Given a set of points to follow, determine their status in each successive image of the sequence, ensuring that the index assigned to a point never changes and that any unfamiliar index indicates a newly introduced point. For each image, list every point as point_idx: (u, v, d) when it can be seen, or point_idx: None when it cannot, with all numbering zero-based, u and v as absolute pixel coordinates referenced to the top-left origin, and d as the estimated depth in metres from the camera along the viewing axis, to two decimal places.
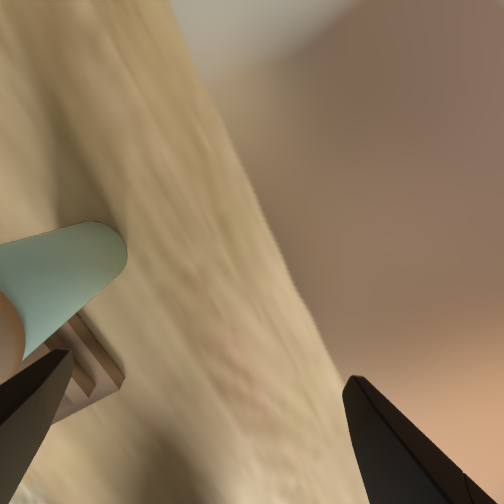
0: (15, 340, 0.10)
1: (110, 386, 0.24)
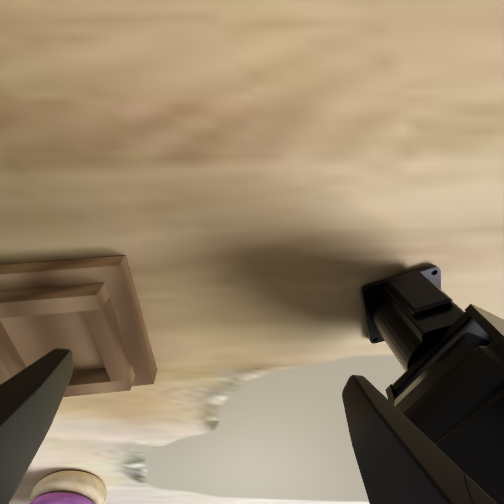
0: None
1: (111, 271, 0.20)
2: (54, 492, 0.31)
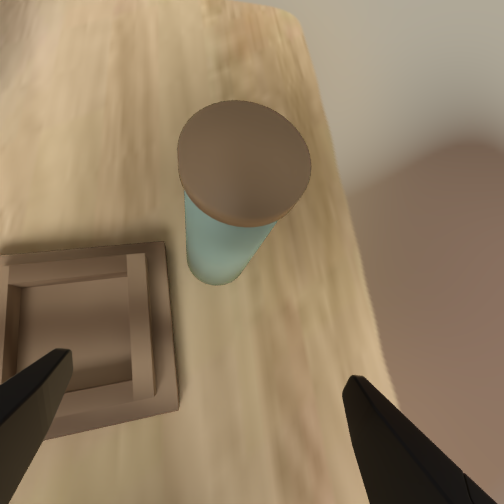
0: None
1: (170, 401, 0.19)
2: None
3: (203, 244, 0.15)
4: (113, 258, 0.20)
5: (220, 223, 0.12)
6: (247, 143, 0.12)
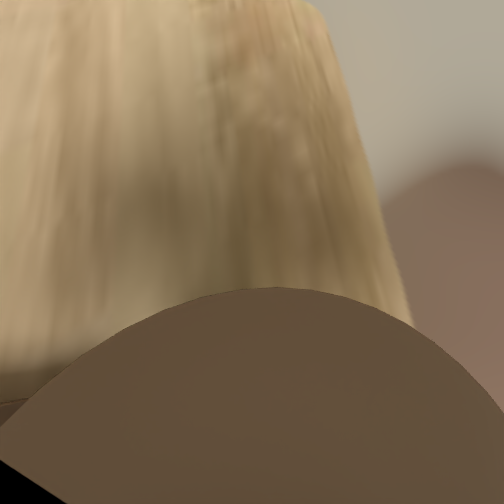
0: None
1: None
2: None
3: None
4: None
5: None
6: None
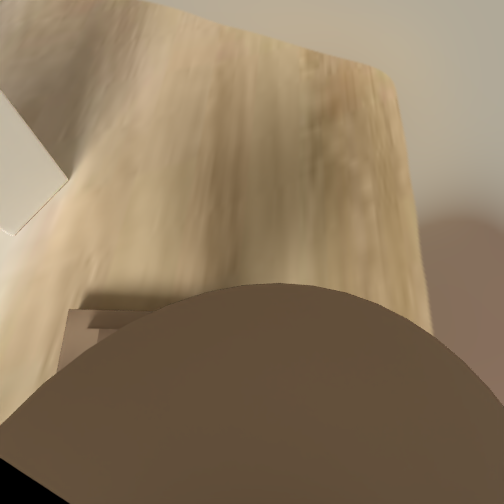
0: None
1: None
2: None
3: None
4: None
5: None
6: None
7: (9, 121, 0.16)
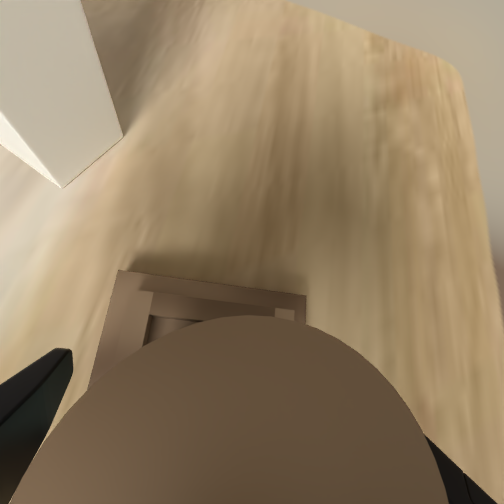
0: None
1: None
2: None
3: None
4: (261, 309, 0.17)
5: None
6: (254, 498, 0.03)
7: (83, 48, 0.15)
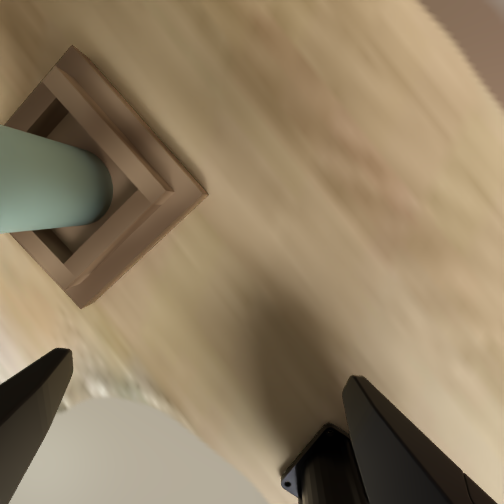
0: None
1: (191, 191, 0.18)
2: None
3: None
4: (34, 94, 0.17)
5: None
6: None
7: None
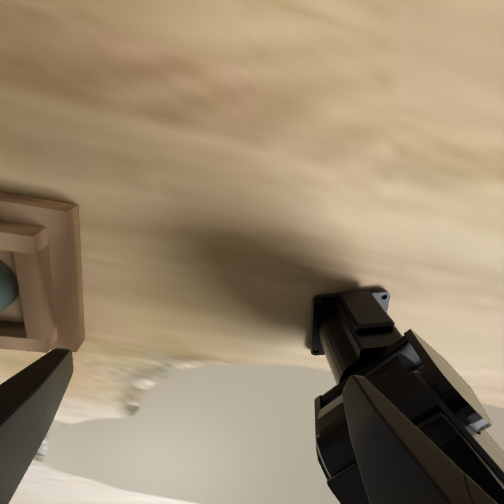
0: None
1: (57, 216, 0.18)
2: None
3: None
4: None
5: None
6: None
7: None
